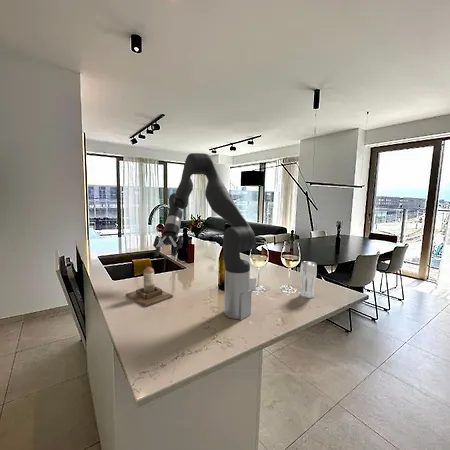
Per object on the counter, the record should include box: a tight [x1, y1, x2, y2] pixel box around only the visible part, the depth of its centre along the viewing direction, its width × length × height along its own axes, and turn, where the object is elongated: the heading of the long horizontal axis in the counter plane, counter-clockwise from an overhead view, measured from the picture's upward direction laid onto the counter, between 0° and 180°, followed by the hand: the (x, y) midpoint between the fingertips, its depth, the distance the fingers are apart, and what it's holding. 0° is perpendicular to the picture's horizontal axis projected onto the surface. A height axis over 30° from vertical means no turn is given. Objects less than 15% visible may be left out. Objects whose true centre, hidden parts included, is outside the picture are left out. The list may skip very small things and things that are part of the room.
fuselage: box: [143, 266, 155, 294], centre depth 112 cm, size 4×4×12 cm
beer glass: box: [299, 260, 318, 299], centre depth 115 cm, size 7×7×15 cm
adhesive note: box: [249, 273, 257, 291], centre depth 124 cm, size 6×6×6 cm
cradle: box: [125, 285, 174, 308], centre depth 113 cm, size 16×13×3 cm
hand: (165, 255), depth 122 cm, fingers open, 8 cm apart
